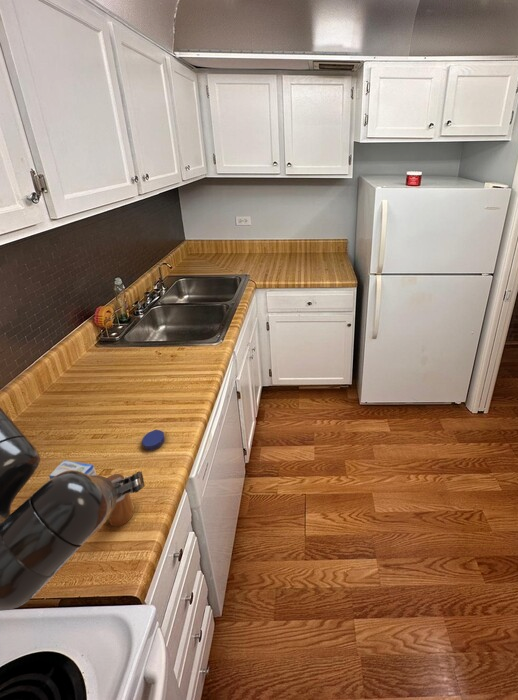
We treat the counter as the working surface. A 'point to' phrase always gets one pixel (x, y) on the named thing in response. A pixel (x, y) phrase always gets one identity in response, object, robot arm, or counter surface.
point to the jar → (121, 507)
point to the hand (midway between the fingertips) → (100, 495)
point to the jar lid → (153, 440)
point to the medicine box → (73, 468)
